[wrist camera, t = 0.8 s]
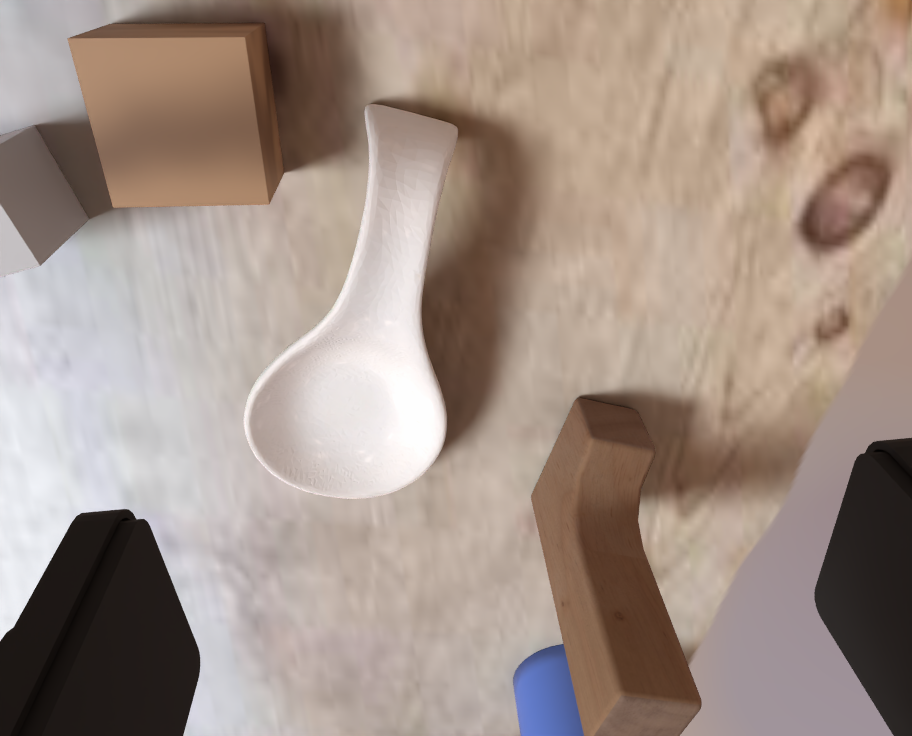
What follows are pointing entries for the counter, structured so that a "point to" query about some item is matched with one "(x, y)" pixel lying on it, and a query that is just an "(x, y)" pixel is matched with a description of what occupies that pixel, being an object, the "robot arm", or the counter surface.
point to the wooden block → (609, 578)
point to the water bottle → (546, 695)
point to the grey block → (33, 202)
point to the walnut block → (181, 112)
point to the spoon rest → (366, 338)
